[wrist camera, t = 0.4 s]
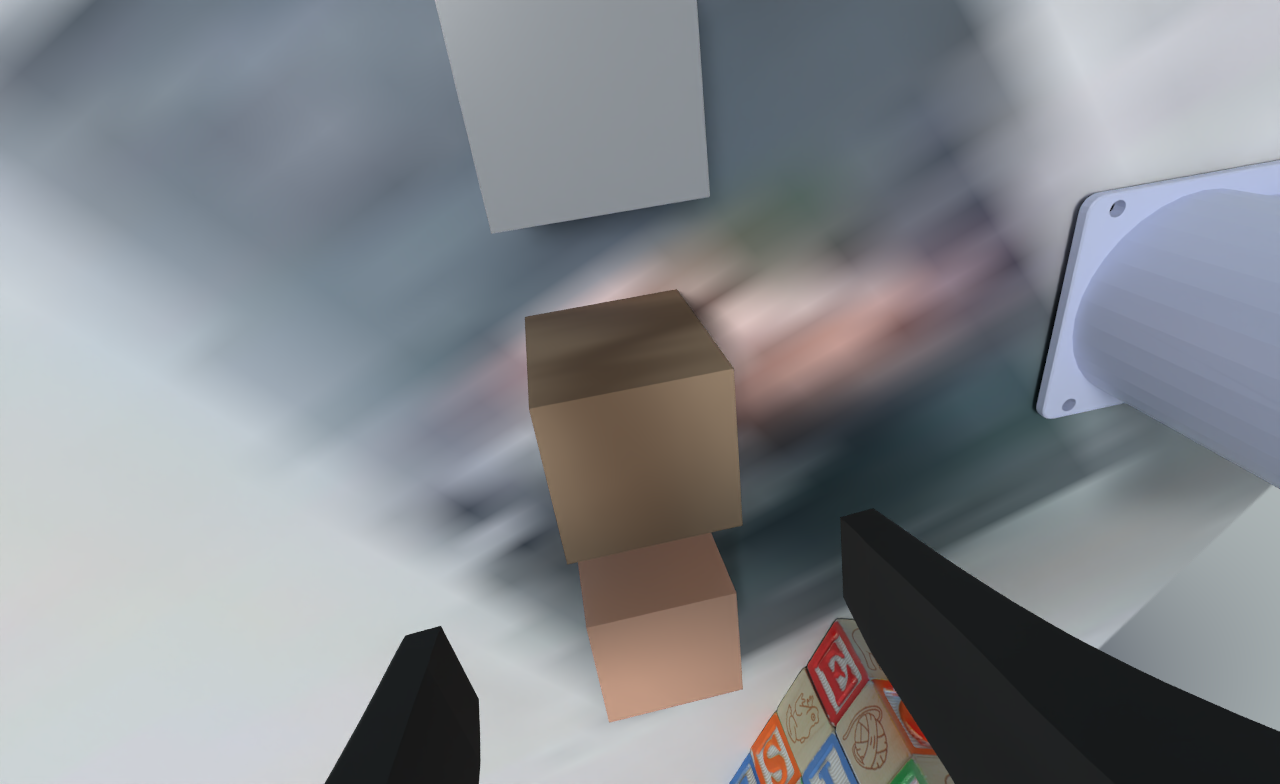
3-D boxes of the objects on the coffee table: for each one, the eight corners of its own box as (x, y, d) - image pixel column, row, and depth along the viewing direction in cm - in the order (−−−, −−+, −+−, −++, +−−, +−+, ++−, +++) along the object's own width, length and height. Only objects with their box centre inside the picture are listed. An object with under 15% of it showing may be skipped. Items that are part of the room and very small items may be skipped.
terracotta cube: (697, 499, 22) (736, 593, 18) (705, 588, 24) (742, 689, 21) (573, 526, 22) (586, 628, 18) (593, 615, 24) (609, 722, 20)
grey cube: (643, -36, 14) (691, -73, 11) (663, 165, 17) (709, 197, 13) (449, -11, 14) (425, -39, 10) (496, 192, 16) (491, 233, 12)
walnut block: (676, 288, 18) (733, 368, 14) (689, 417, 21) (742, 525, 16) (524, 316, 18) (529, 409, 13) (554, 445, 20) (567, 564, 15)
